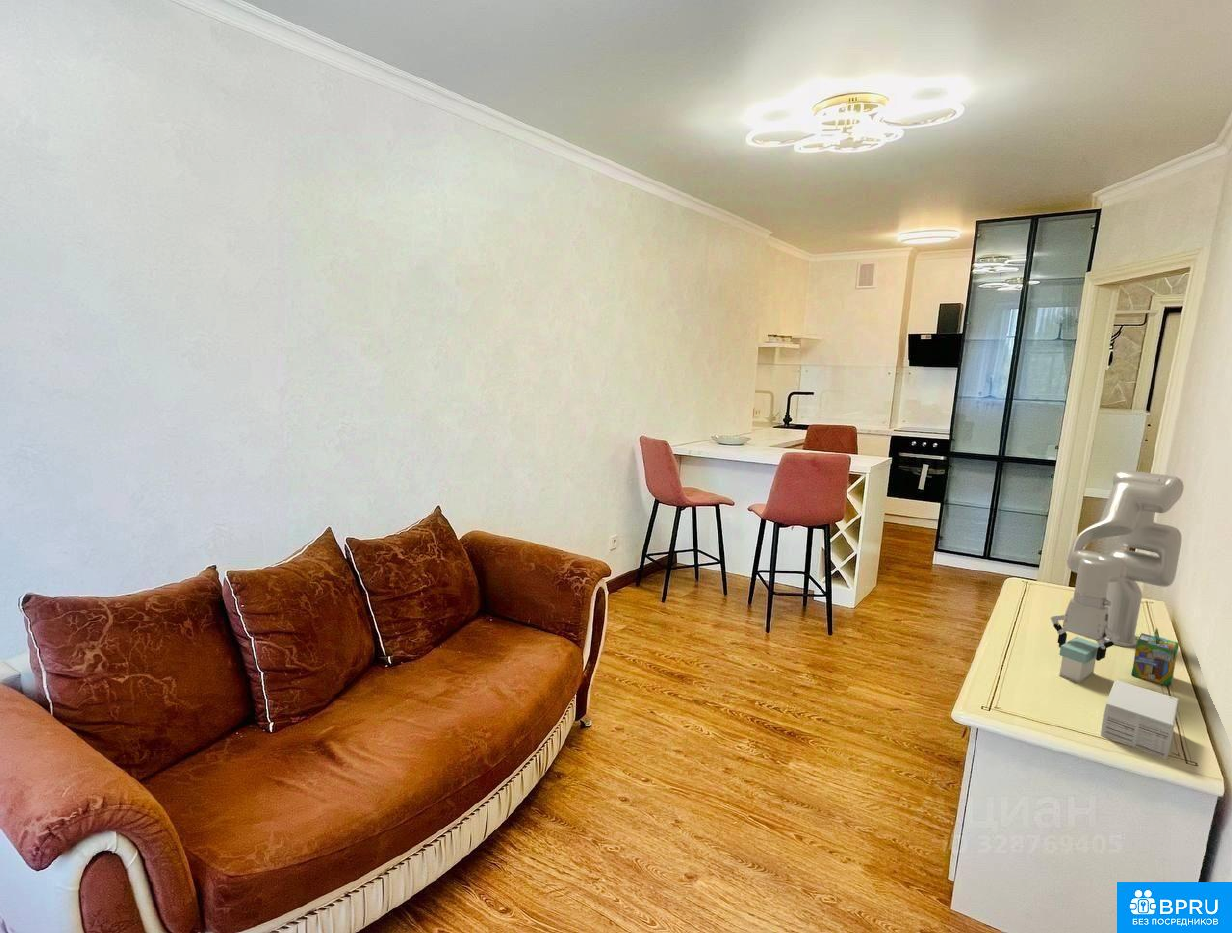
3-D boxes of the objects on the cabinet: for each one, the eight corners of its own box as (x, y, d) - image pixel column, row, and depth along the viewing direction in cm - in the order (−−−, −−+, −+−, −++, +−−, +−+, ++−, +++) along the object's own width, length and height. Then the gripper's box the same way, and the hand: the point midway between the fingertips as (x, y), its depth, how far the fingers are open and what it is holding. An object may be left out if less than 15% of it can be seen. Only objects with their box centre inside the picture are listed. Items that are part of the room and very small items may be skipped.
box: (1074, 666, 192) (1077, 647, 191) (1093, 673, 188) (1096, 653, 187) (1059, 675, 186) (1062, 655, 185) (1078, 683, 182) (1082, 662, 181)
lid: (1074, 650, 192) (1076, 636, 191) (1099, 658, 187) (1101, 645, 186) (1058, 659, 186) (1060, 645, 185) (1083, 668, 181) (1086, 654, 180)
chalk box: (1170, 688, 181) (1179, 641, 178) (1130, 675, 187) (1138, 630, 185) (1173, 677, 187) (1182, 632, 184) (1135, 666, 194) (1143, 622, 191)
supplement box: (1108, 710, 168) (1114, 678, 167) (1172, 731, 159) (1179, 698, 158) (1099, 735, 157) (1105, 702, 155) (1167, 760, 148) (1174, 725, 146)
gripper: (1129, 606, 178) (1119, 661, 181) (1061, 587, 192) (1053, 638, 195) (1120, 612, 174) (1110, 668, 177) (1050, 592, 188) (1042, 644, 191)
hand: (1080, 652), depth 186 cm, fingers open, 9 cm apart
